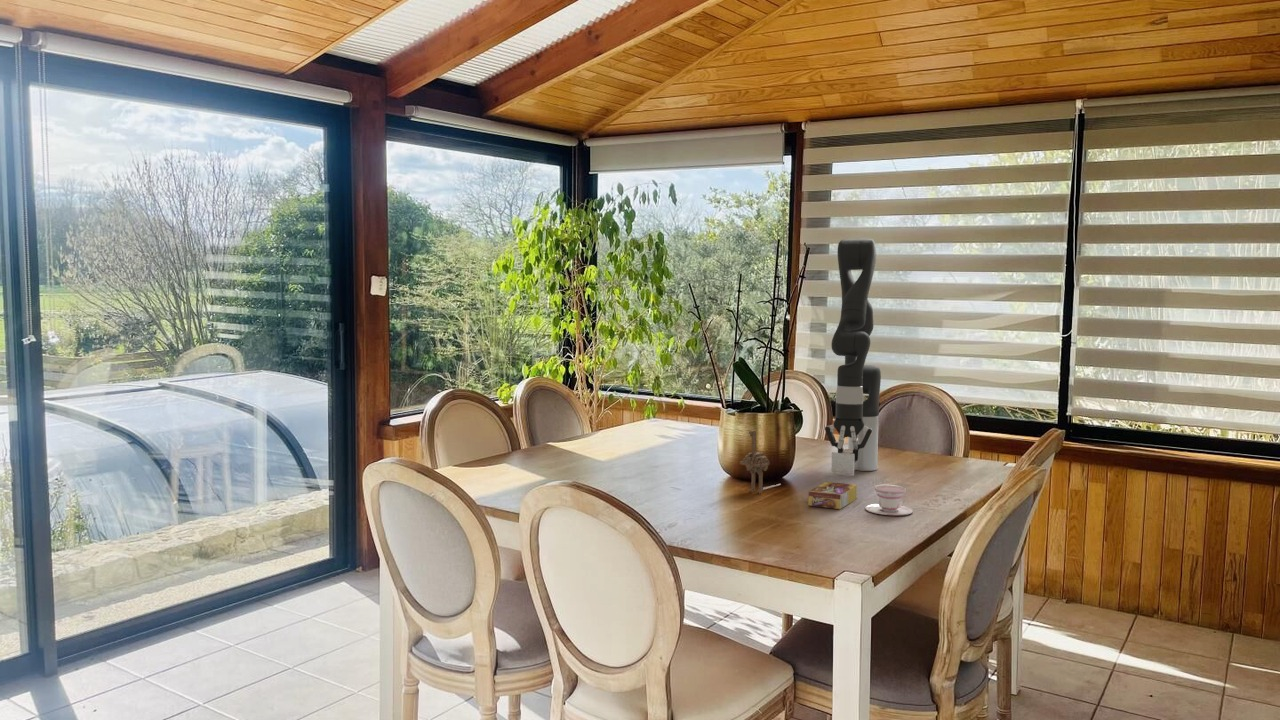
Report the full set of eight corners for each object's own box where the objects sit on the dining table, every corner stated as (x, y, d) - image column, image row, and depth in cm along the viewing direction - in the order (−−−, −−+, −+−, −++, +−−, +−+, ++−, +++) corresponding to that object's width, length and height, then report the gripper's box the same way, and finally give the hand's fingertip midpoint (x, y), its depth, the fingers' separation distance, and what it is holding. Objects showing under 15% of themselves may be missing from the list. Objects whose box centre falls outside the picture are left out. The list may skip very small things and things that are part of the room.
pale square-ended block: (839, 464, 267) (839, 443, 267) (860, 465, 265) (861, 445, 264) (831, 474, 253) (831, 452, 253) (853, 476, 251) (854, 454, 251)
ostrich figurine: (758, 497, 254) (759, 432, 252) (738, 493, 258) (739, 429, 257) (791, 488, 266) (792, 426, 265) (771, 484, 271) (772, 424, 270)
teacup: (914, 517, 232) (914, 493, 231) (865, 514, 235) (865, 490, 234) (911, 507, 244) (912, 484, 243) (864, 504, 246) (865, 481, 246)
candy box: (825, 496, 256) (807, 505, 243) (826, 481, 256) (807, 489, 243) (857, 500, 252) (840, 509, 239) (857, 484, 252) (840, 493, 238)
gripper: (876, 401, 262) (874, 461, 263) (826, 399, 267) (825, 458, 268) (873, 404, 255) (871, 466, 256) (822, 401, 260) (820, 462, 261)
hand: (847, 461), depth 262 cm, fingers closed on pale square-ended block, 3 cm apart
